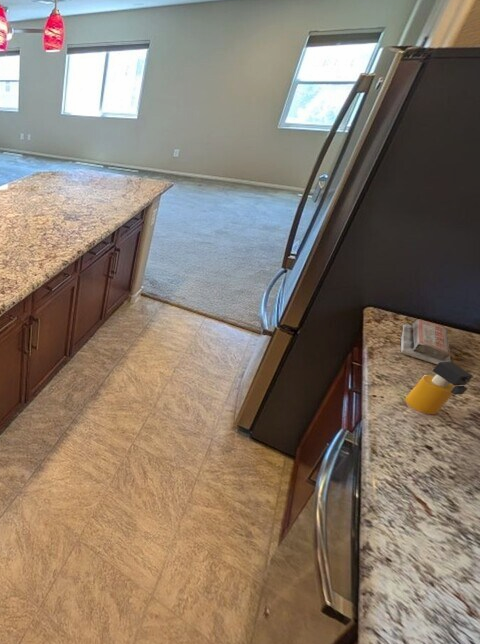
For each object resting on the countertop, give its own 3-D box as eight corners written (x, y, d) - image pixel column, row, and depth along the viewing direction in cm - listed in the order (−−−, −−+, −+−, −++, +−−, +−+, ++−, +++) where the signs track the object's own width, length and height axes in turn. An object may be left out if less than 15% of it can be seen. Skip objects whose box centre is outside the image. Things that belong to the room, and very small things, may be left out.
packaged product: (409, 314, 123) (455, 327, 117) (401, 326, 125) (446, 340, 119) (408, 341, 112) (459, 357, 106) (399, 353, 114) (448, 370, 108)
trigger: (450, 391, 91) (455, 385, 90) (458, 391, 91) (463, 385, 90) (454, 394, 91) (459, 388, 90) (462, 394, 91) (467, 388, 90)
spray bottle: (398, 397, 101) (429, 359, 94) (419, 396, 101) (451, 358, 94) (424, 417, 95) (459, 378, 88) (446, 416, 95) (482, 377, 88)
